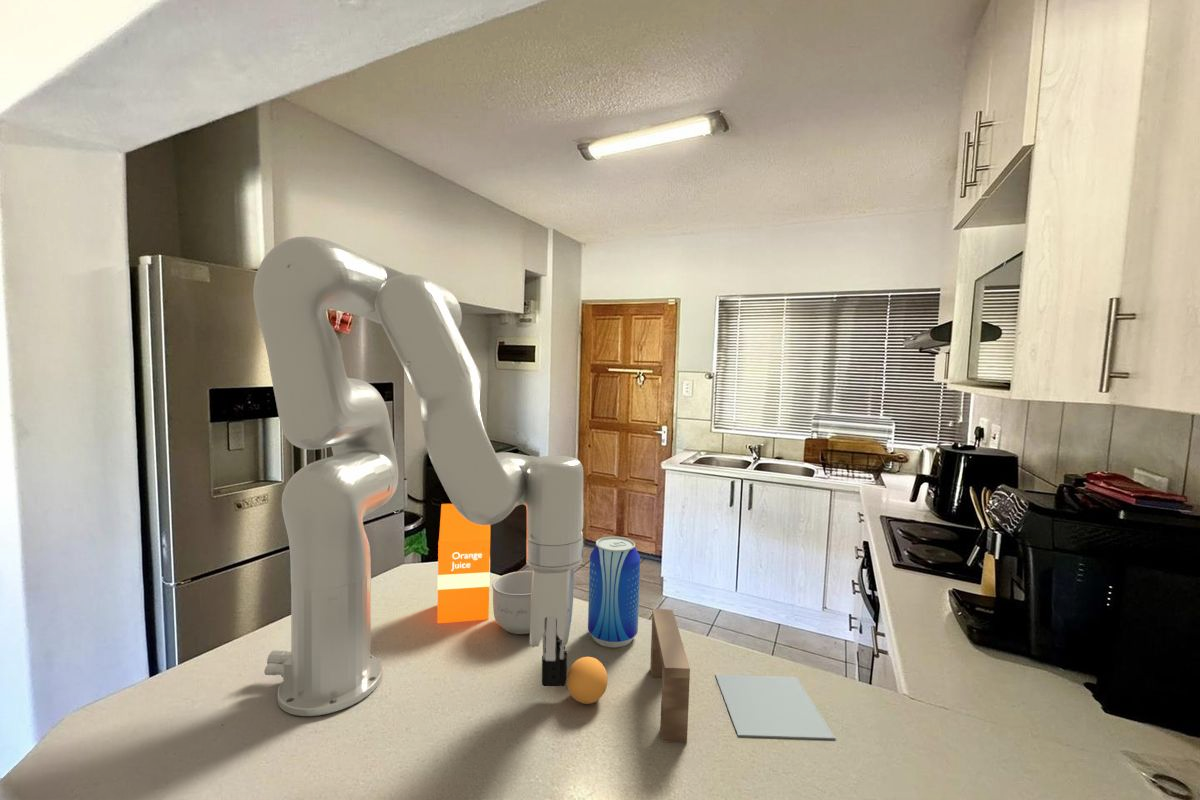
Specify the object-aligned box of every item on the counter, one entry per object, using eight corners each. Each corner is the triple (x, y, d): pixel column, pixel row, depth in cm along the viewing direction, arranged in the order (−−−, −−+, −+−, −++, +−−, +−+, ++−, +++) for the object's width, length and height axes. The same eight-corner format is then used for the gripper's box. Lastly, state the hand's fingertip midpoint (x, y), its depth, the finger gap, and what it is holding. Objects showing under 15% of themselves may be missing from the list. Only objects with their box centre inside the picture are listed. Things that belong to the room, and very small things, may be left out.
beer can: (634, 653, 77) (637, 554, 76) (582, 646, 78) (585, 549, 78) (640, 626, 85) (643, 537, 84) (593, 620, 87) (596, 532, 86)
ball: (566, 671, 63) (609, 675, 62) (570, 646, 68) (609, 650, 68) (563, 711, 63) (605, 715, 63) (567, 683, 68) (606, 687, 68)
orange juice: (489, 619, 86) (491, 508, 85) (436, 623, 84) (438, 510, 83) (489, 599, 94) (491, 497, 92) (441, 602, 92) (442, 498, 91)
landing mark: (737, 736, 60) (738, 734, 60) (715, 675, 72) (715, 674, 72) (835, 739, 60) (835, 737, 60) (796, 678, 72) (796, 676, 72)
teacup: (489, 644, 78) (490, 595, 78) (493, 611, 89) (494, 568, 89) (575, 639, 80) (576, 592, 80) (569, 607, 91) (570, 566, 91)
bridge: (662, 741, 58) (664, 667, 58) (650, 668, 73) (652, 608, 72) (687, 742, 58) (690, 668, 58) (670, 669, 73) (672, 609, 72)
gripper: (534, 531, 72) (534, 650, 73) (516, 572, 57) (517, 722, 58) (585, 531, 72) (584, 651, 73) (580, 572, 57) (579, 722, 58)
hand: (554, 682), depth 66 cm, fingers closed
